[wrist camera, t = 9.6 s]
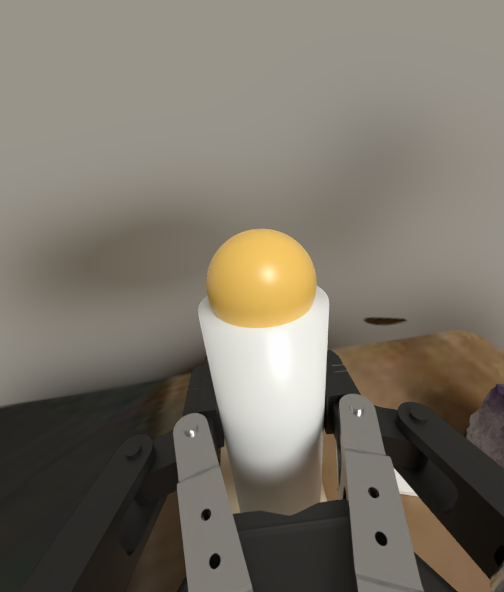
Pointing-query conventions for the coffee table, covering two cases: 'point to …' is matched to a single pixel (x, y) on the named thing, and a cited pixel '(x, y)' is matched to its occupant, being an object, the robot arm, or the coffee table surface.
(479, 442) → the geode
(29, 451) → the coffee table surface
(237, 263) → the tube amber
